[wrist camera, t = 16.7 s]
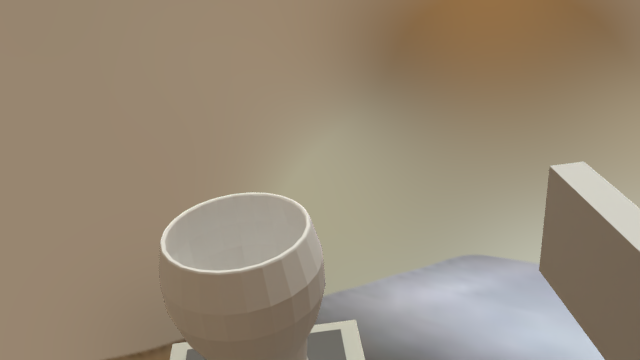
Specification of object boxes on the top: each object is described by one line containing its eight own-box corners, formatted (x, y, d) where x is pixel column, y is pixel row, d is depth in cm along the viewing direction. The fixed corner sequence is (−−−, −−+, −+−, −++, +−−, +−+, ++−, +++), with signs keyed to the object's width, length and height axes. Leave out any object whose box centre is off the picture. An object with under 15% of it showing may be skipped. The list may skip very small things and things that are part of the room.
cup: (341, 347, 48) (325, 185, 41) (333, 463, 39) (311, 277, 32) (214, 348, 49) (179, 190, 43) (177, 460, 40) (123, 281, 33)
